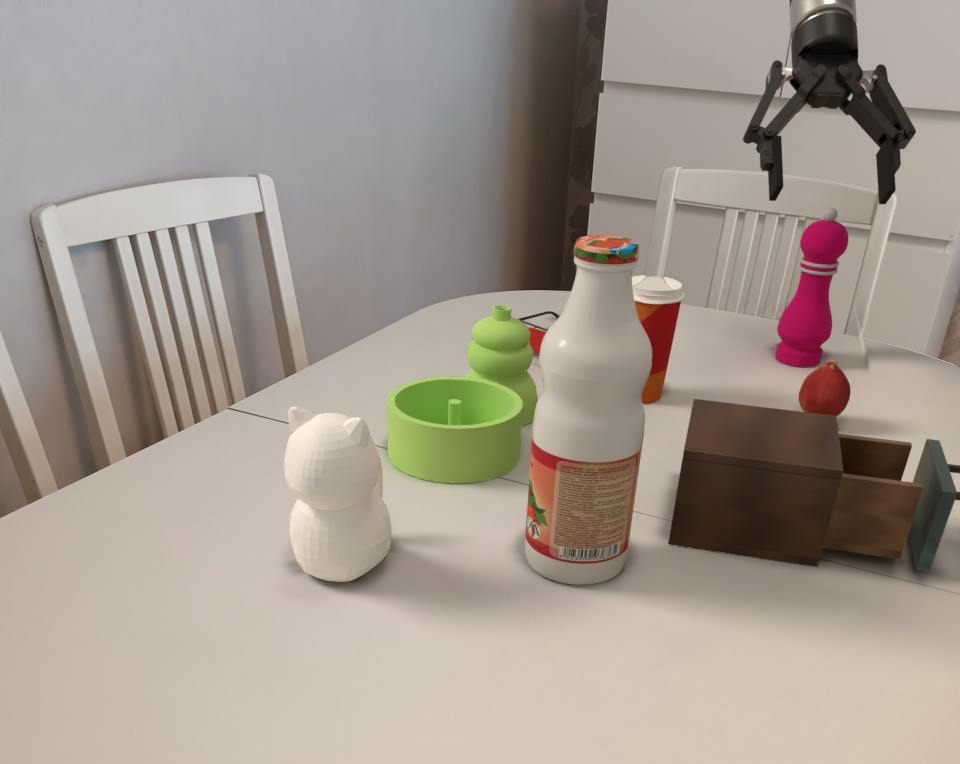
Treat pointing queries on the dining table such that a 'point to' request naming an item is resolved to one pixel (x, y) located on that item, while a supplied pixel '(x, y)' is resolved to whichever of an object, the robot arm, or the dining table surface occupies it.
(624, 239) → the fruit juice
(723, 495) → the drawer cabinet
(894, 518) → the wooden drawer
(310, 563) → the cat figurine
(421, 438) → the green round pieces
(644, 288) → the paper cup
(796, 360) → the pepper mill
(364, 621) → the dining table surface
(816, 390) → the onion
